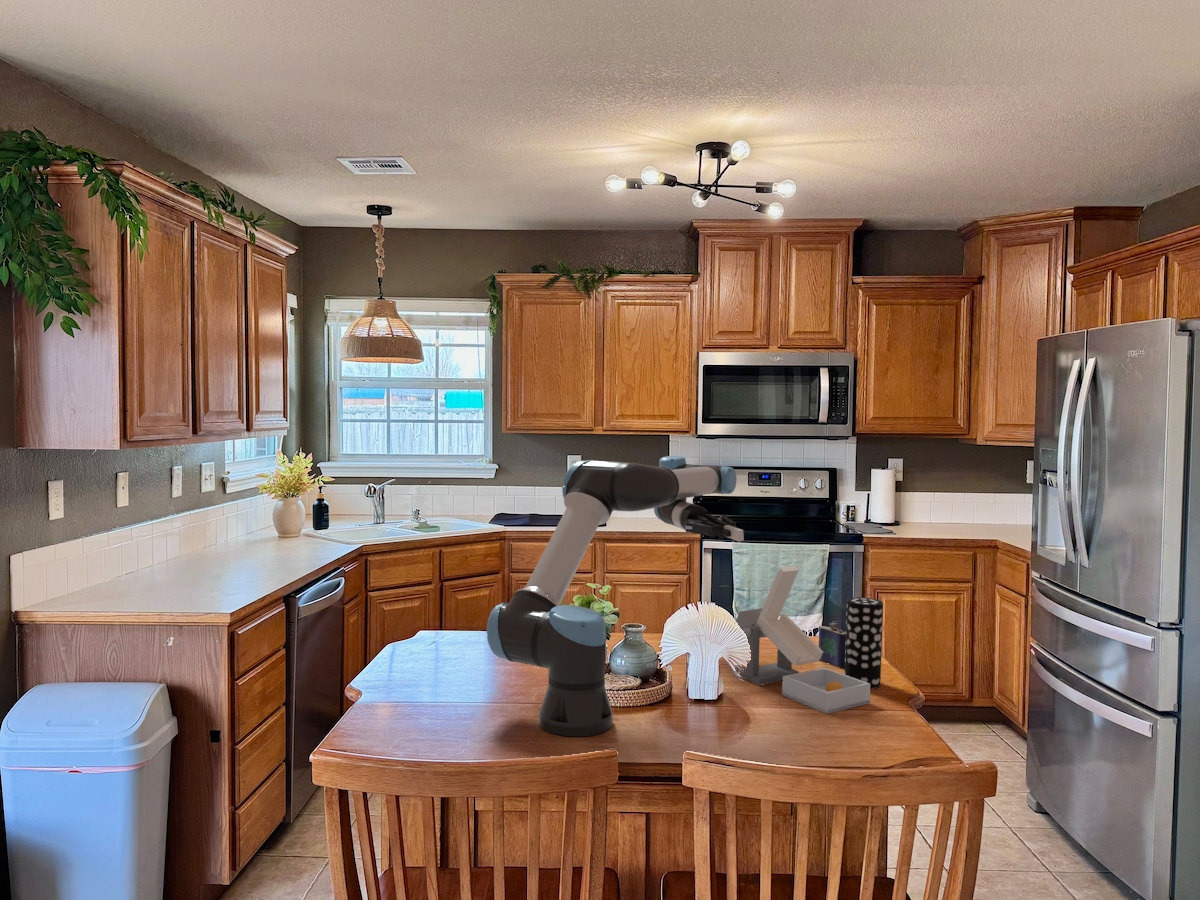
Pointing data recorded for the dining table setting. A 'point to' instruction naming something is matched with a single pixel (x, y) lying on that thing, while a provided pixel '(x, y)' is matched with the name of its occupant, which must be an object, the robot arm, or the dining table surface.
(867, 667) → the spotted tube
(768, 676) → the stand
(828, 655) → the flask
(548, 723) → the robot arm
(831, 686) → the ball
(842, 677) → the grey storage tray
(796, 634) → the chute
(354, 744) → the dining table surface
